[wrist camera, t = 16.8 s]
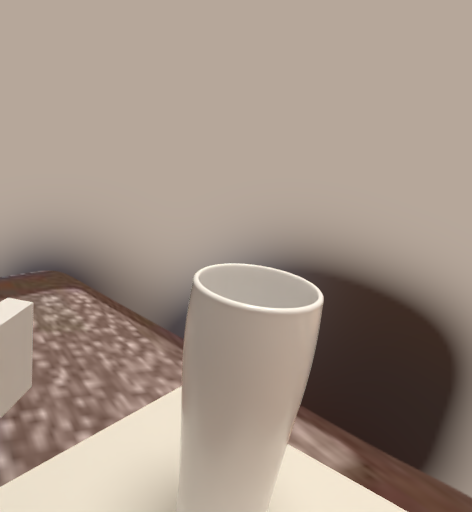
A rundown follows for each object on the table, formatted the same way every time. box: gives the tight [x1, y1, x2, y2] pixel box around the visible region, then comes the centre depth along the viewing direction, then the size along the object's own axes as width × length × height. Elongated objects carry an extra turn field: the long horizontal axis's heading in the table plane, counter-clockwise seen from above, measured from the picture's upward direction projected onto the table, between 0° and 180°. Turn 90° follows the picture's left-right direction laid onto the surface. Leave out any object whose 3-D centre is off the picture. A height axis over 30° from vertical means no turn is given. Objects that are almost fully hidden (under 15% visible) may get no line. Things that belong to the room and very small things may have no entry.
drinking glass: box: [176, 263, 323, 512], centre depth 25 cm, size 7×7×15 cm
